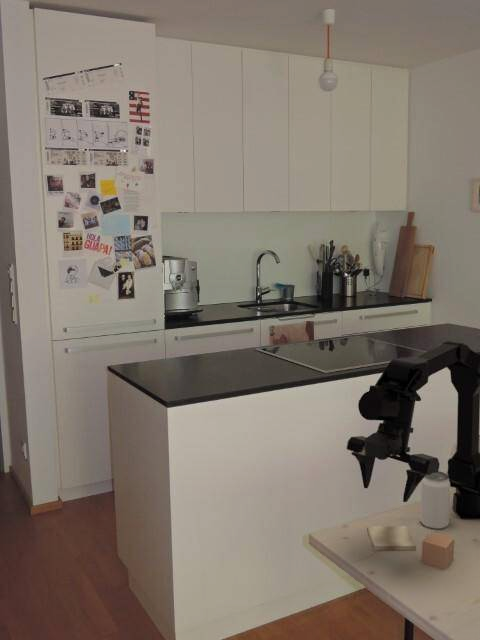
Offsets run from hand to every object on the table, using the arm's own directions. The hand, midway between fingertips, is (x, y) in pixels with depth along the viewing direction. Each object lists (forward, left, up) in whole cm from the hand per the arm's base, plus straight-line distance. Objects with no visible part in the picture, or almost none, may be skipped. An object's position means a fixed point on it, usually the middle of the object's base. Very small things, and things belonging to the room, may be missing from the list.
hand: (385, 494), depth 135 cm
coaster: (-4, -9, -15) cm, 18 cm away
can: (-16, -17, -15) cm, 28 cm away
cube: (-12, 0, -15) cm, 19 cm away
